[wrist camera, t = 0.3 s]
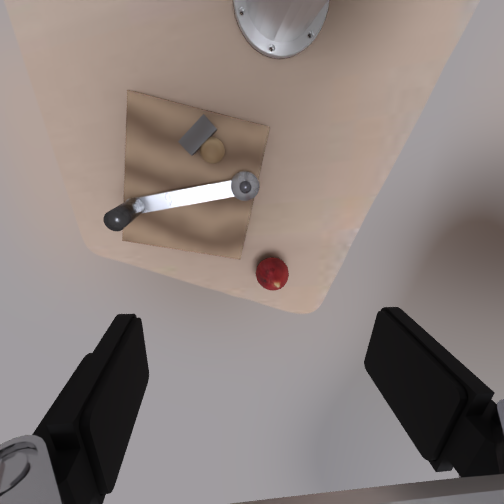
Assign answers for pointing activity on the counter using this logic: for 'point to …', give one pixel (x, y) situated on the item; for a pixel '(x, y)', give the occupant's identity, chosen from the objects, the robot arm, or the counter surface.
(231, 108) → the counter surface
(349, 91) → the counter surface
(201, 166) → the board
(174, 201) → the lever
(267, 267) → the onion
